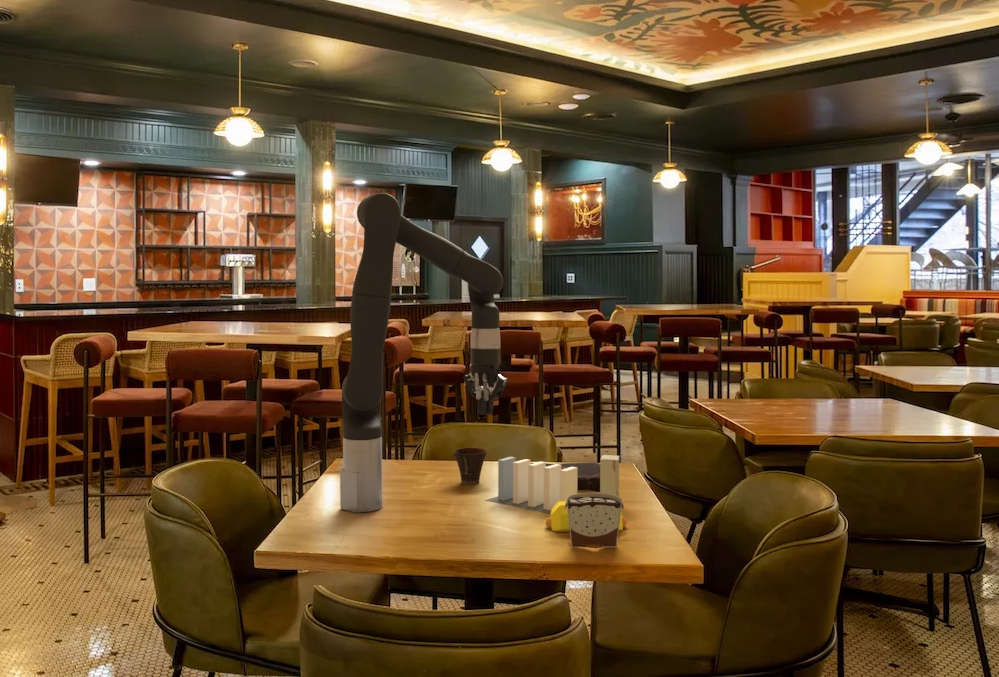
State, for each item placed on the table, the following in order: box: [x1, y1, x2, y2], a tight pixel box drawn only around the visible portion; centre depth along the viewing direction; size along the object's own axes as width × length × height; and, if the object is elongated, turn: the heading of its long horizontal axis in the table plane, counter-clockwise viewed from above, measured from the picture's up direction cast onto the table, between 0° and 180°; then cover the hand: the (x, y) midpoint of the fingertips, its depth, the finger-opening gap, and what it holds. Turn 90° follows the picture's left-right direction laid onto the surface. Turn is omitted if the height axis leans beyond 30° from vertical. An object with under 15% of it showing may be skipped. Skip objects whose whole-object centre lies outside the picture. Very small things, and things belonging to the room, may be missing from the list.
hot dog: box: [545, 501, 627, 533], centre depth 185 cm, size 18×7×8 cm
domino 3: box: [528, 460, 547, 507], centre depth 204 cm, size 5×2×10 cm, turn 142°
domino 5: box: [560, 467, 578, 501], centre depth 199 cm, size 5×2×10 cm, turn 142°
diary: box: [531, 461, 600, 493], centre depth 227 cm, size 19×25×5 cm
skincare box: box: [599, 454, 620, 498], centre depth 204 cm, size 6×4×12 cm
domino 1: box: [497, 456, 517, 501], centre depth 210 cm, size 5×2×10 cm, turn 141°
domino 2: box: [513, 458, 532, 504], centre depth 207 cm, size 5×2×10 cm, turn 142°
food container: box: [564, 492, 625, 549], centre depth 176 cm, size 12×6×10 cm, turn 92°
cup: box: [453, 447, 488, 486], centre depth 227 cm, size 9×9×10 cm
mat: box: [485, 495, 552, 515], centre depth 205 cm, size 10×25×1 cm, turn 51°
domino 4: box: [544, 463, 561, 510], centre depth 202 cm, size 5×2×10 cm, turn 142°
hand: (485, 414), depth 214 cm, fingers closed
